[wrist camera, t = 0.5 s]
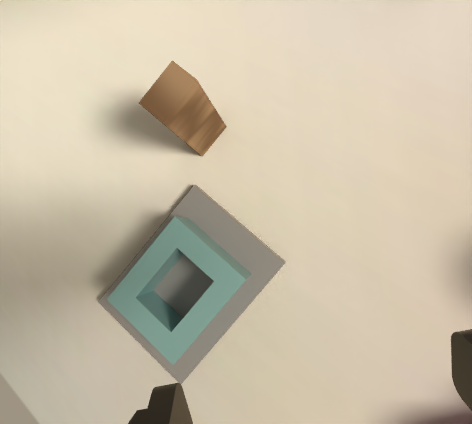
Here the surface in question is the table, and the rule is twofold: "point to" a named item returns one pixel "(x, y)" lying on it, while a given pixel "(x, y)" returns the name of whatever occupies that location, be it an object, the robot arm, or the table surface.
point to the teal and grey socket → (190, 283)
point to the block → (184, 108)
